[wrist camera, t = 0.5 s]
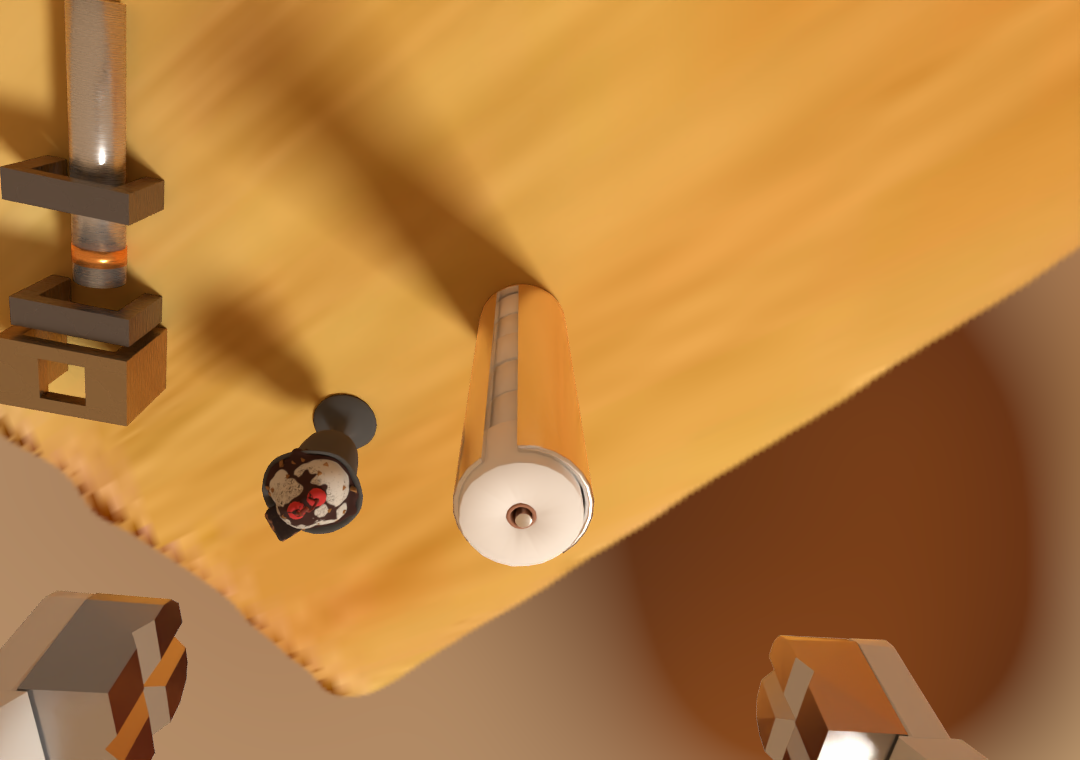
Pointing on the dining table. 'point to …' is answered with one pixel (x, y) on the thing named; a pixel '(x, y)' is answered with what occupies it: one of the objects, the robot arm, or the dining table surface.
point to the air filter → (522, 435)
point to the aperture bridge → (110, 377)
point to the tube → (97, 131)
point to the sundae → (320, 472)
